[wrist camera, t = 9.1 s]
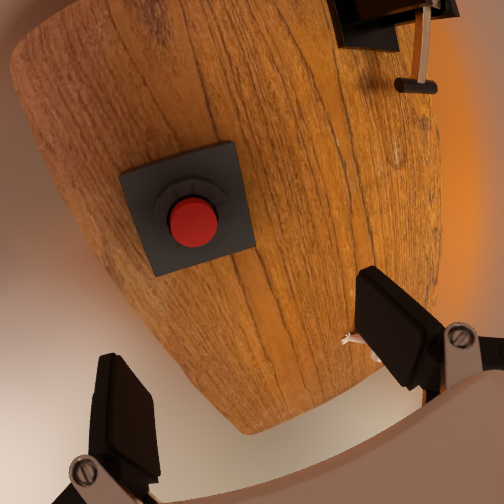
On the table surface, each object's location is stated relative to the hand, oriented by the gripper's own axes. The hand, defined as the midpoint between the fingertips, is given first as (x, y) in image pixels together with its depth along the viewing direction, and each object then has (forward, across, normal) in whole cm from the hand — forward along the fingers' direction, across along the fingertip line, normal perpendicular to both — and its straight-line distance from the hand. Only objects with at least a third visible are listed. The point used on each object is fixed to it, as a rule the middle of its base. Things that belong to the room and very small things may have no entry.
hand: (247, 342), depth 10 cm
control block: (+18, +1, 0) cm, 19 cm away
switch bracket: (+18, -22, -18) cm, 33 cm away
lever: (+11, -21, -14) cm, 28 cm away
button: (+15, +1, 0) cm, 15 cm away
